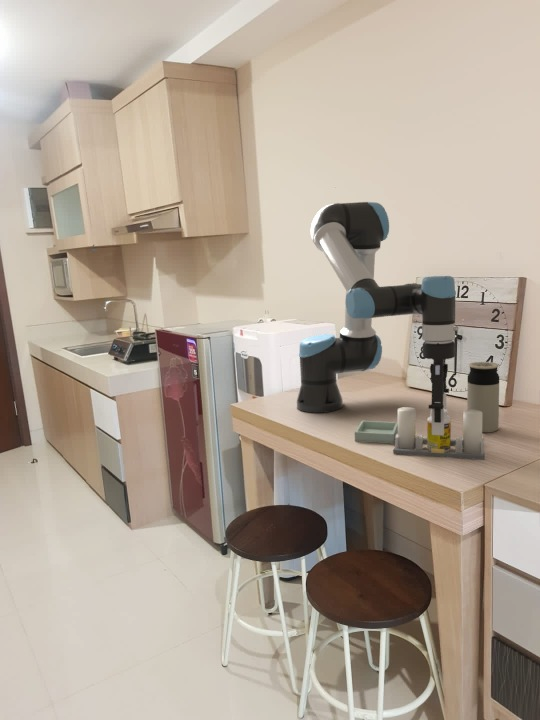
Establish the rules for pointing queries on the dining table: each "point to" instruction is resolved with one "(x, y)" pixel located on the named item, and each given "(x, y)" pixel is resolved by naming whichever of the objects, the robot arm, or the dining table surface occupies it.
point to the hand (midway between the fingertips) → (439, 426)
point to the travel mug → (484, 393)
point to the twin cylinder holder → (471, 442)
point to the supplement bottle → (439, 440)
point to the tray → (376, 431)
